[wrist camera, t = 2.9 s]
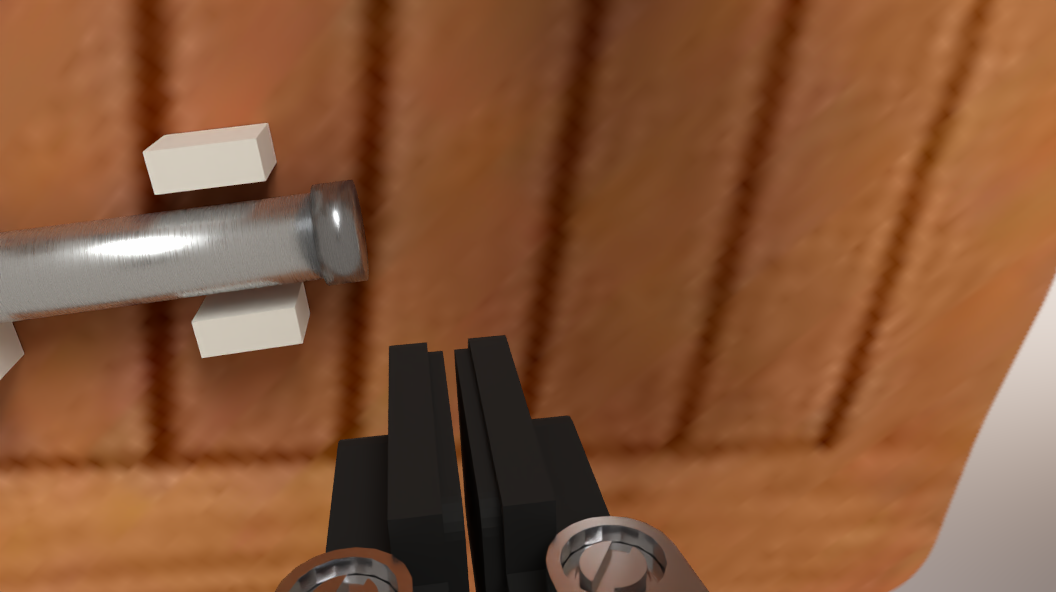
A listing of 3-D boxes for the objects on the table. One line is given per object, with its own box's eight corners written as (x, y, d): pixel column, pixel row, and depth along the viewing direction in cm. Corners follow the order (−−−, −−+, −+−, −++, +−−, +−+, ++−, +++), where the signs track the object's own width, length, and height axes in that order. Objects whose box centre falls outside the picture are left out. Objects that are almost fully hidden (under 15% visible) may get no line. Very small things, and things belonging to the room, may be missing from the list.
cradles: (268, 122, 32) (253, 141, 29) (310, 313, 35) (301, 348, 32) (-278, 187, 30) (-358, 215, 27) (-178, 382, 33) (-239, 427, 30)
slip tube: (353, 168, 33) (347, 195, 29) (370, 259, 34) (366, 295, 31) (-284, 248, 30) (-376, 288, 27) (-234, 342, 32) (-315, 392, 28)
